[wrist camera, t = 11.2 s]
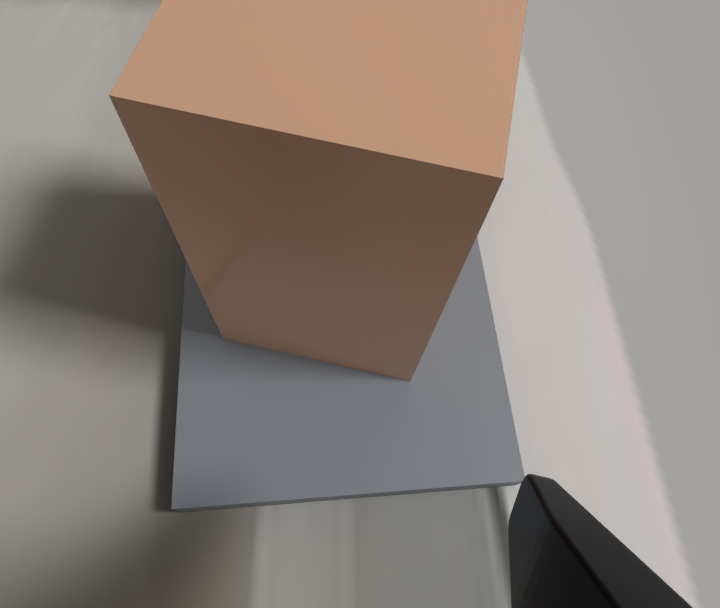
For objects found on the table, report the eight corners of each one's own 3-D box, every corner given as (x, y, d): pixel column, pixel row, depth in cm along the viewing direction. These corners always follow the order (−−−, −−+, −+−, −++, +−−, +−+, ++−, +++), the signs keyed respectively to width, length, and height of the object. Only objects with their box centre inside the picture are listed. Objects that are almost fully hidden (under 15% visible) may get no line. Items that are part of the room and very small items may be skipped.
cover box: (410, 381, 17) (503, 177, 8) (223, 338, 17) (109, 95, 8) (440, 222, 20) (536, -68, 11) (276, 187, 20) (233, -126, 11)
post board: (514, 485, 17) (565, 464, 13) (179, 511, 16) (137, 497, 12) (447, 130, 23) (470, 48, 19) (199, 136, 22) (173, 52, 18)
